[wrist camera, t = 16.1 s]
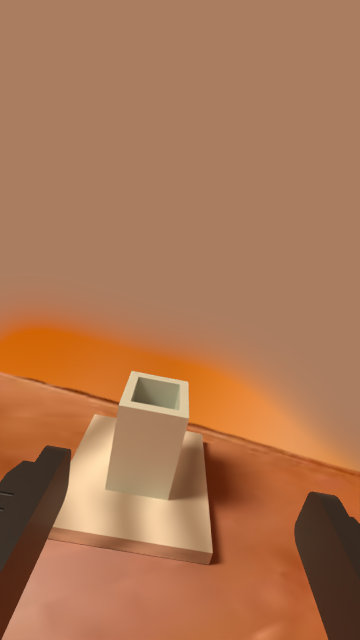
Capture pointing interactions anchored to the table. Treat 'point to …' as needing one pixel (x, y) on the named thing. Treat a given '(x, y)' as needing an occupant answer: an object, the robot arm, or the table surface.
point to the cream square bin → (148, 436)
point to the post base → (136, 504)
